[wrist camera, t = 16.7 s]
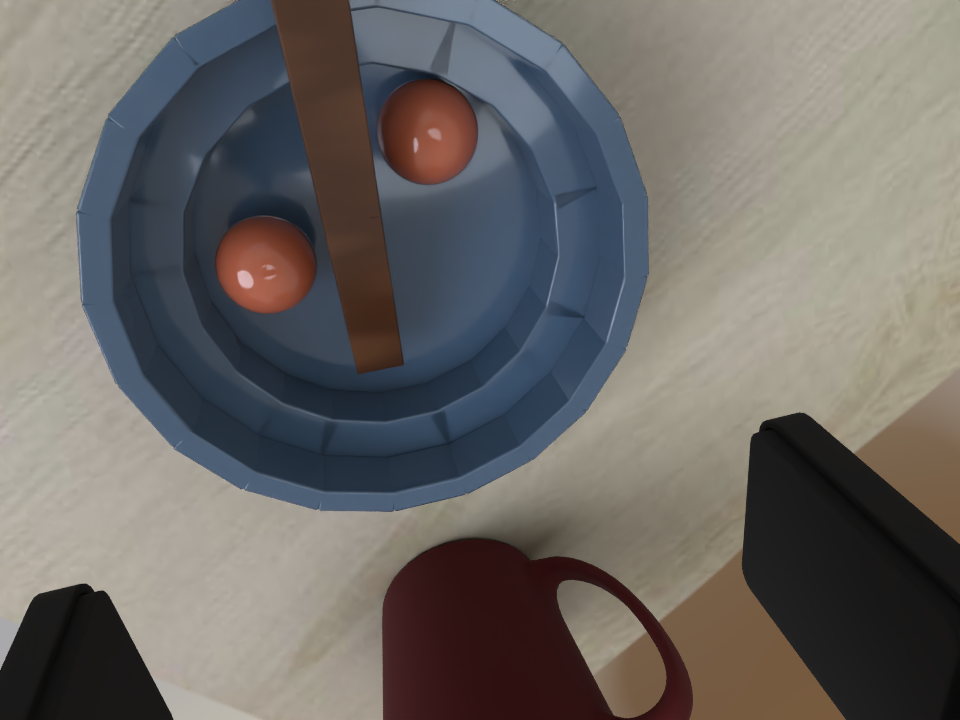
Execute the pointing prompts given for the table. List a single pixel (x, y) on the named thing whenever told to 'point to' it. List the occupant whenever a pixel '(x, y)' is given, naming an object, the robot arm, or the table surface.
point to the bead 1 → (265, 264)
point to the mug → (501, 640)
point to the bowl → (411, 253)
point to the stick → (342, 170)
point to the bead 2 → (427, 131)
